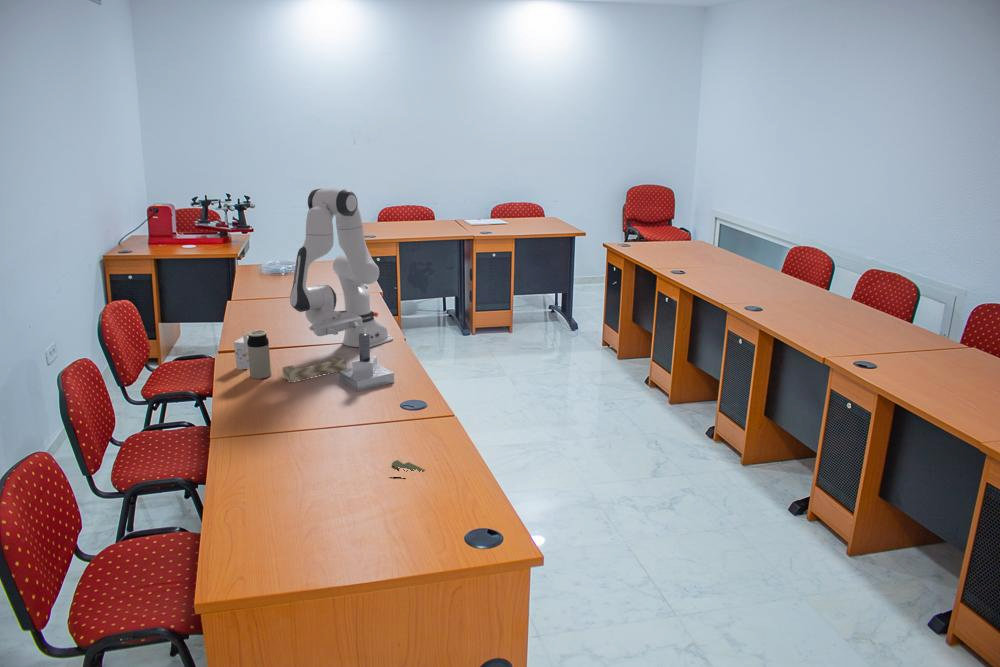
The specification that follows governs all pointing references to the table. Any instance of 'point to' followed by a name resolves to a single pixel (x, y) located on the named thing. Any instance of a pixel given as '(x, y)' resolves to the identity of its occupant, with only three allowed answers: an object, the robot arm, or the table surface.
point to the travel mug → (258, 354)
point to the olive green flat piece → (406, 466)
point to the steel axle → (364, 347)
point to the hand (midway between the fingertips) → (347, 330)
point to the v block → (366, 375)
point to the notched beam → (314, 369)
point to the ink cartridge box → (242, 352)
